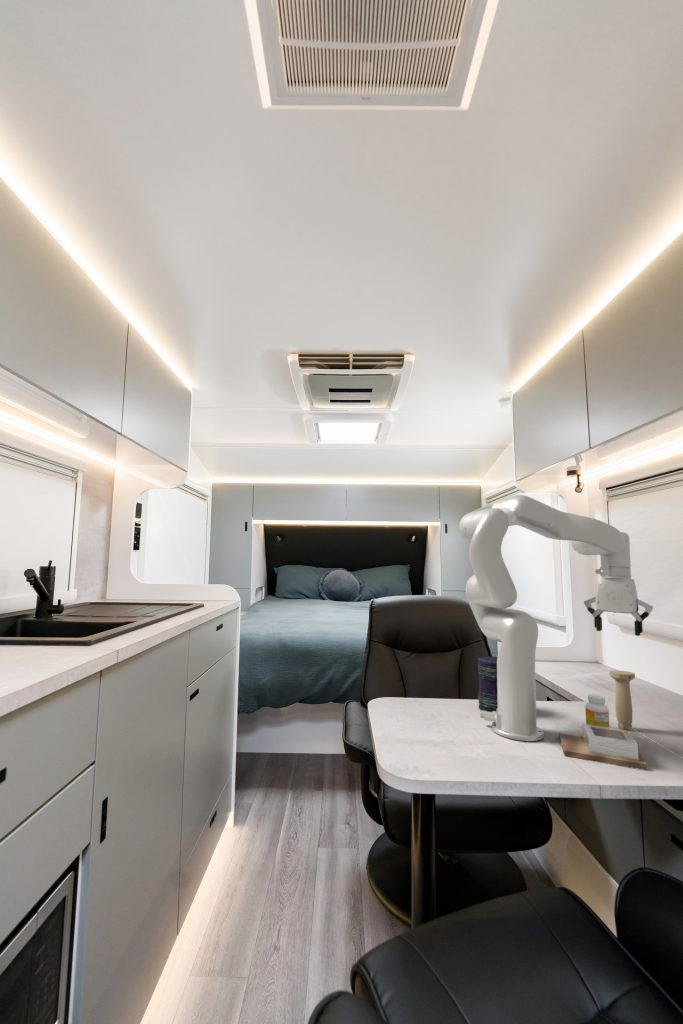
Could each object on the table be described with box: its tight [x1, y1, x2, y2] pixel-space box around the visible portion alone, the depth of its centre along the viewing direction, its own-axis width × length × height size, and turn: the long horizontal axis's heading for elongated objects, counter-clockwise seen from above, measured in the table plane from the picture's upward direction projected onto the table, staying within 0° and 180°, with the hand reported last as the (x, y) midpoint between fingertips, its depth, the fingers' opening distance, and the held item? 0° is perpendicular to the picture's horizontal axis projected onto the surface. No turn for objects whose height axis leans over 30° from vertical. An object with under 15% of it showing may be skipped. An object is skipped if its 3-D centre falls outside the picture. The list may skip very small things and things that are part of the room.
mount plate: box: [558, 732, 648, 771], centre depth 101 cm, size 16×12×1 cm
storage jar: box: [477, 655, 498, 712], centre depth 132 cm, size 10×10×15 cm
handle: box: [609, 669, 636, 731], centre depth 119 cm, size 5×6×15 cm
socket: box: [581, 723, 639, 761], centre depth 100 cm, size 10×10×4 cm
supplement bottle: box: [584, 693, 611, 728], centre depth 113 cm, size 5×5×10 cm
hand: (618, 632), depth 124 cm, fingers open, 9 cm apart
